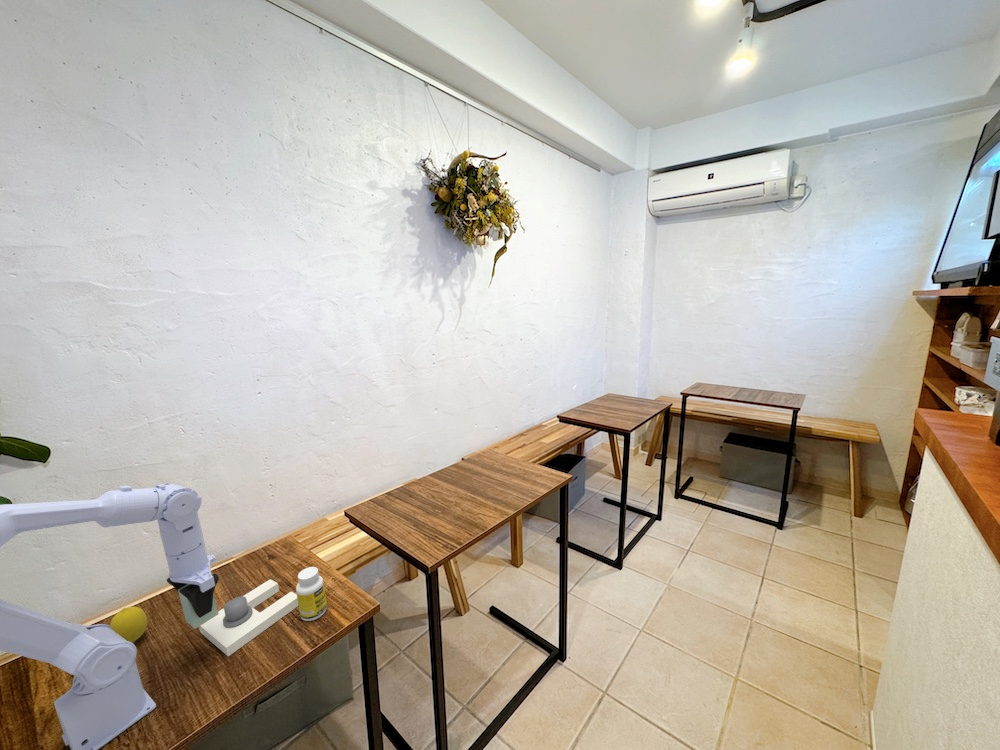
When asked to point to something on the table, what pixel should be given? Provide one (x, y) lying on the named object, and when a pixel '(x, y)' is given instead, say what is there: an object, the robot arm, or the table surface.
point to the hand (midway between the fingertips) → (199, 609)
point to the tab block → (190, 613)
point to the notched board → (246, 617)
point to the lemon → (129, 623)
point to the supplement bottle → (311, 594)
